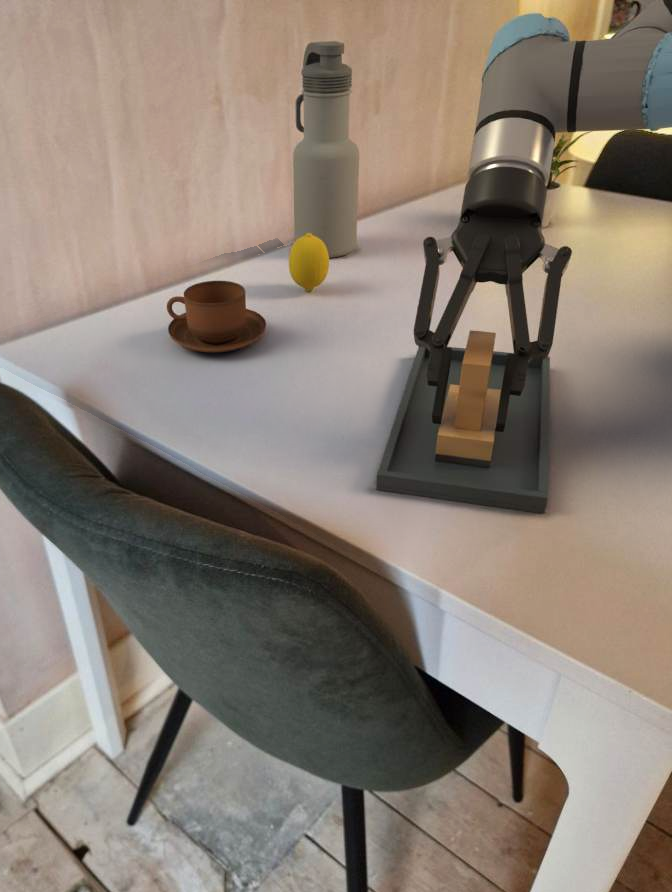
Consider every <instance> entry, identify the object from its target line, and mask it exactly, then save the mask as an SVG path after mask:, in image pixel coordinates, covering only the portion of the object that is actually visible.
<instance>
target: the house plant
mask: <svg viewBox="0 0 672 892" xmlns="http://www.w3.org/2000/svg"><path fill="white" fill-rule="evenodd" d="M592 132H593V131H585V132H583V133H582V134H579V135H578V136H577V137H575V138H574V139H573V140H572V141H571V142H569V143H568V141H570V140H571V138H568V139H565V137H566V134H567V132H563V134H562V135H561V137H560V138H559V139H558V142H557V144H556V145H555V146H554V150H553V156H552V163H551V169H550V175H549V181H548V185H547V186H546V188H547V195H546V202H545V208H544V214H543V221H542V228H541V229H543V228H545V227H548V226H549V223H550V220H551V218H552V214H553V212H554V209H555V206H556V203H557V200H558V197H559V194H560V191H561V189H562V185H561V183H559V182H558V181H556V180H557V178H558V177H559V176H560V175H561V174H562V173H563V172H565V171H567V170H569V169H572V168H573V169H574V168H578V166H577V165H571V166H568V167H566V168H564V169H563V170H560V168H561V167H562V166H564V165H566V164H569V163H570V164H571V163H573V162H574V163H576V162H579V160H575V159H565V160H561V159H560V158H561V157H562V156H563V154H564V153H565V152H566V151H567V150H569V148H570V147H571V146H573V145H574V144H575V143H576V142H577V141H579V139H581V138H582V137H583V136H585V135H587V134H590V133H592ZM567 143H568V144H567ZM566 144H567V145H566ZM565 145H566V146H565ZM553 177H554V178H553Z"/></svg>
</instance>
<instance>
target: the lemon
mask: <svg viewBox="0 0 672 892" xmlns="http://www.w3.org/2000/svg"><path fill="white" fill-rule="evenodd" d="M288 270H289V275H290V277H291V279H292V280H293V282H294V283H295V284H296V285H297V286H299V287H301V288H303V289H304V290H305V291H306V292H312V291H313V290H314V288H317V287H319V286H320V285H321V284H322V283H324V282H325V280H326V278H327V276H328V273H329V270H330V258H329V256H328V251H327V248H326V246H325V244H324V243H323V241H322V240H320V239H319V238H318V237H316V236H313V235H312V234H311V233H307V234H306V235H305V236H302V237H300V238H299V239H298V240H296V242H295V241H294V243H293V244H292V246H291V248H290V252H289V257H288Z"/></svg>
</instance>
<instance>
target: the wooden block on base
mask: <svg viewBox="0 0 672 892" xmlns="http://www.w3.org/2000/svg"><path fill="white" fill-rule="evenodd" d="M496 337H497V333H496V332H492V331H482V330H469V332H468V337H467V341H466V346H465V348H466V350H465V354H464V358H463V363H462V370H461V378H460V385H452V384H450V387H449V391H448V395H447V399H446V403H445V407H444V411H443V415H442V419H441V424H440V428H439V432H438V437H437V445H436V454H435V461H440V462H447V463H455V464H462V465H470V466H477V467H484V468H489V467H490V462H491V456H492V450H493V444H494V437H495V428H496V421H497V415H498V407H499V400H500V392H501V390H497V389H488V382H489V375H490V369H491V362H492V356H493V351H494V349H495V342H496Z"/></svg>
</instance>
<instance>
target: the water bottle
mask: <svg viewBox="0 0 672 892" xmlns="http://www.w3.org/2000/svg"><path fill="white" fill-rule="evenodd" d="M343 54H345V43H344V42H339V41H337V40H336V41H335V40H330V41H329V40H327V41H315V42H313V41H312V42H309V43H308V44H307V45H306V47H305V50H304V54H303V60H302V69H301V77H302V78H301V80H302V84H301V85H302V86H301V87H302V89H301V94H299V95H298V96H297V97H296V99H295V127H296V129H297V131H299V132H300V133H303V138H302V140H300V141H299V142H298V143H297V144H296V146H295V147H294V149H293V152H292V168H293V169H292V171H293V174H292V175H293V178H292V179H293V229H294V230H293V231H294V233H293V234H294V236H293V237H294V243H295V242H296V240H298V239H299V238H300V237H302V236H305V235H306V234H307V233H311V234H312V235H313V236H316V237H318V238H319V239H320V240H322V241H323V243H324V244H325V246H326V248H327V251H328V256H329V259H333V258H334V259H335V258H339V257H343V256H345V255H348V254H350V253H352V252H353V251H354V250H355V248H356V246H357V239H358V238H357V237H358V208H359V207H358V206H359V204H358V203H359V180H360V179H359V176H360V175H359V174H360V150H359V148H358V146H357V144H356V143H355V142H354V141H353V140H352V139H351V138H350V137H349V136H350V99H351V98H350V96H351V95H350V94H351V93H352V89H351V88H352V85H353V82H352V80H353V79H352V77H353V75H352V74H353V69H352V67H351V66H349V65H348V64H346V63H343V57H342V56H343ZM302 103H303V124H302V119H301V116H302V115H301V113H302V112H301V107H302Z"/></svg>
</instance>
